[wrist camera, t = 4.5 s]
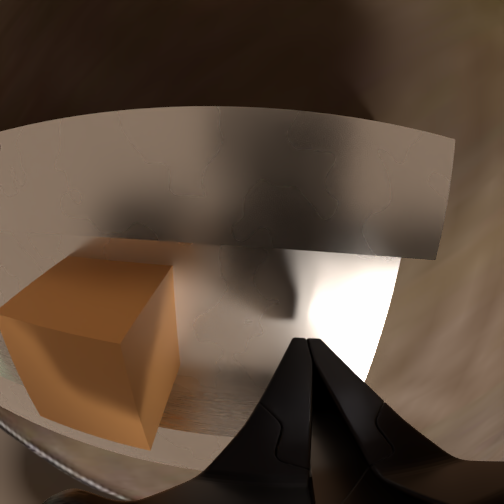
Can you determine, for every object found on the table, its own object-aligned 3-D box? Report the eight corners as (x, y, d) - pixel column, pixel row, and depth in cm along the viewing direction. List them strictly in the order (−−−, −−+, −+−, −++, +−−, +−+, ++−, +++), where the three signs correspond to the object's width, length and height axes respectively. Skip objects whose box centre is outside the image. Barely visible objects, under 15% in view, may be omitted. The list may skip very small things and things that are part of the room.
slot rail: (331, 397, 15) (345, 474, 10) (37, 354, 16) (-4, 404, 11) (384, 135, 10) (455, 139, 6) (-4, 142, 11) (-77, 157, 6)
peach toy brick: (180, 364, 11) (150, 451, 7) (87, 348, 11) (40, 416, 7) (172, 265, 9) (120, 344, 6) (67, 256, 10) (-7, 312, 6)
